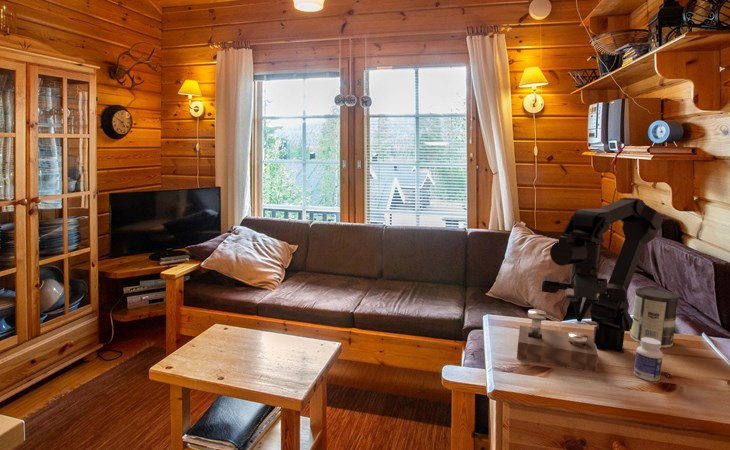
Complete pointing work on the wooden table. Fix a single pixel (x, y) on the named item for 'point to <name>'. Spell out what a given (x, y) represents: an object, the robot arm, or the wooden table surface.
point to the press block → (556, 349)
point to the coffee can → (654, 315)
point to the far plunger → (536, 320)
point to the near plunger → (577, 338)
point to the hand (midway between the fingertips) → (578, 321)
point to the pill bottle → (648, 359)
